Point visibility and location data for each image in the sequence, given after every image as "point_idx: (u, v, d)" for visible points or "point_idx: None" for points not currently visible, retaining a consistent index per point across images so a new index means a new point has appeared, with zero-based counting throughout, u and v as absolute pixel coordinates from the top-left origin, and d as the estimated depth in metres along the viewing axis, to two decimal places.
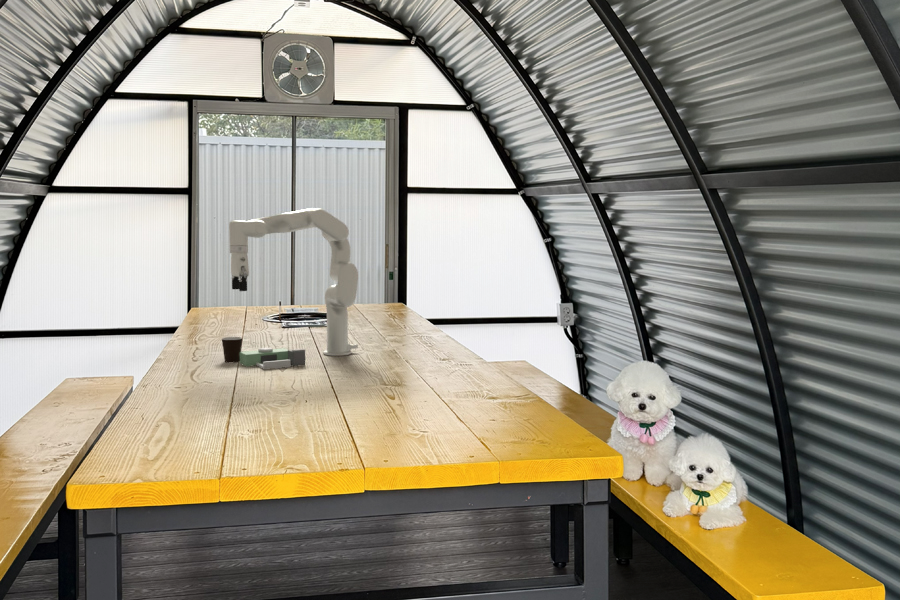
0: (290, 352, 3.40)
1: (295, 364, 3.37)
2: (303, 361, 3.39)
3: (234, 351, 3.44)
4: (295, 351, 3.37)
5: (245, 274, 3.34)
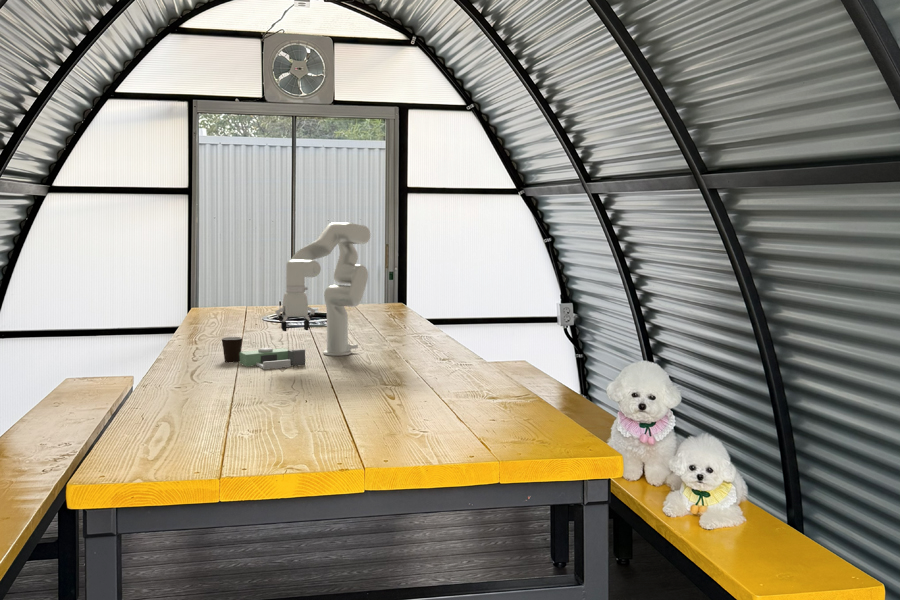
0: (290, 352, 3.40)
1: (295, 364, 3.37)
2: (303, 361, 3.39)
3: (234, 351, 3.44)
4: (295, 351, 3.37)
5: None
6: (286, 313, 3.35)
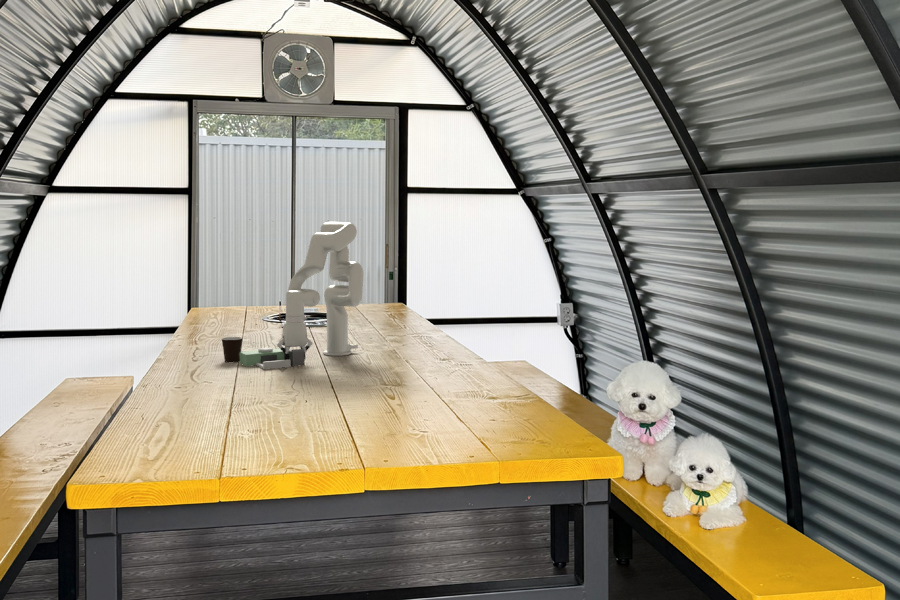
0: (289, 352, 3.39)
1: (294, 364, 3.37)
2: (302, 361, 3.39)
3: (234, 351, 3.44)
4: (294, 351, 3.36)
5: None
6: (285, 343, 3.36)
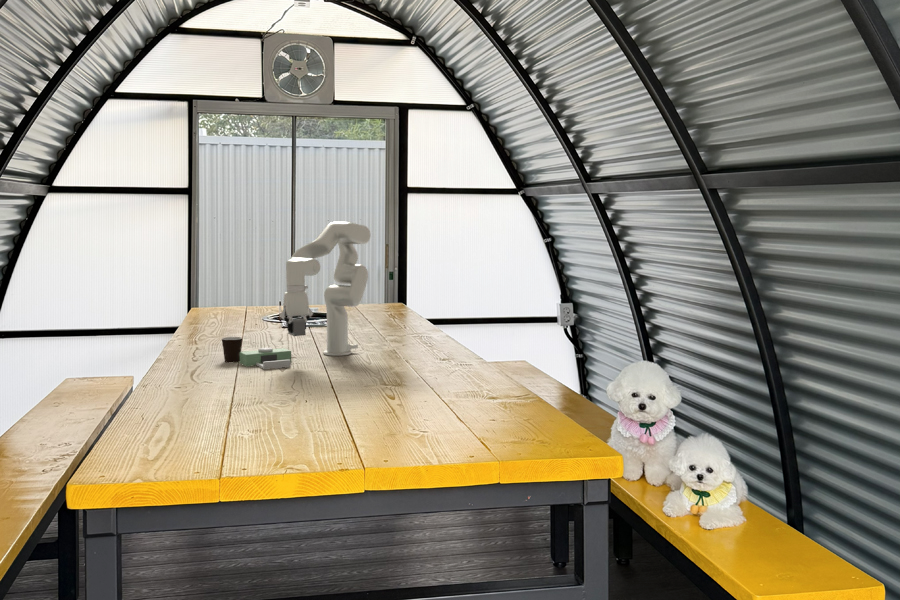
0: None
1: (295, 334, 3.37)
2: (303, 331, 3.38)
3: (234, 351, 3.44)
4: (295, 321, 3.36)
5: None
6: (287, 313, 3.35)
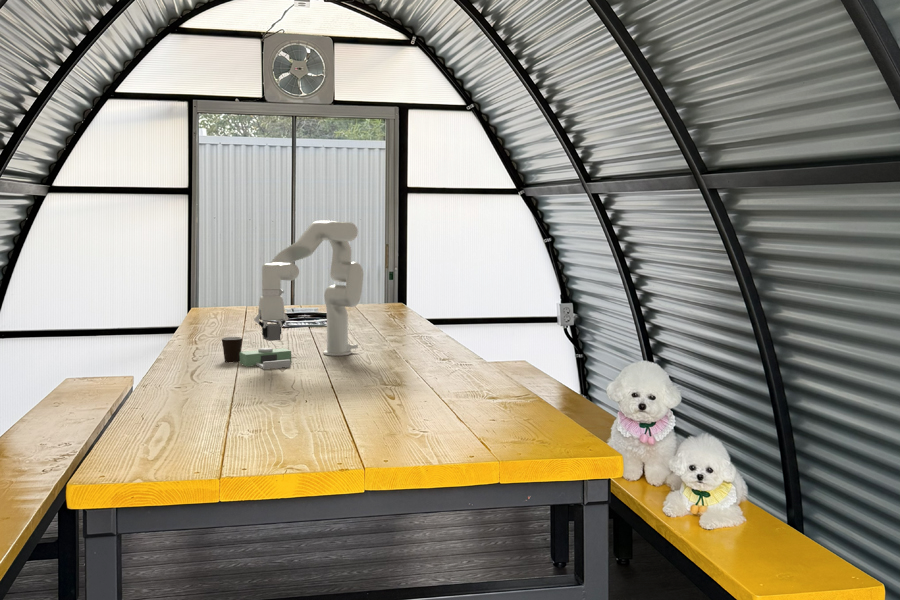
0: None
1: (270, 338, 3.32)
2: (278, 336, 3.34)
3: (234, 351, 3.44)
4: (270, 325, 3.31)
5: None
6: (262, 317, 3.31)
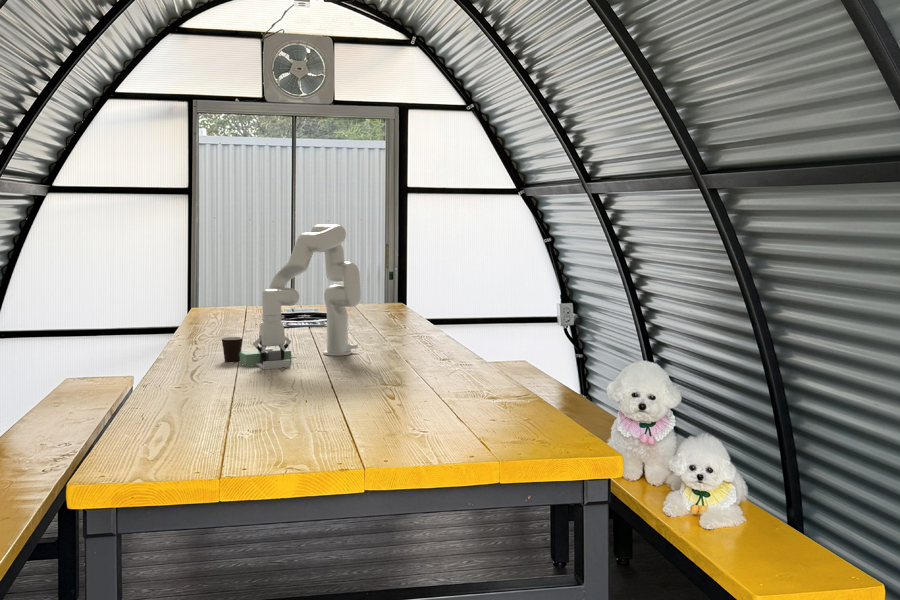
0: (266, 353, 3.36)
1: None
2: None
3: (234, 351, 3.44)
4: (271, 352, 3.33)
5: None
6: (263, 343, 3.32)
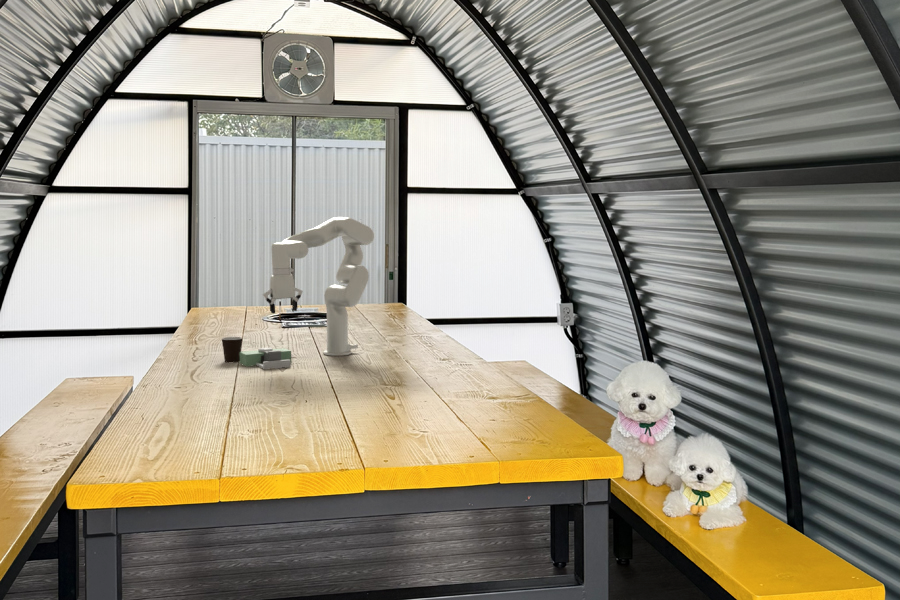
0: (266, 353, 3.36)
1: None
2: None
3: (234, 351, 3.44)
4: (271, 352, 3.33)
5: None
6: (274, 295, 3.38)
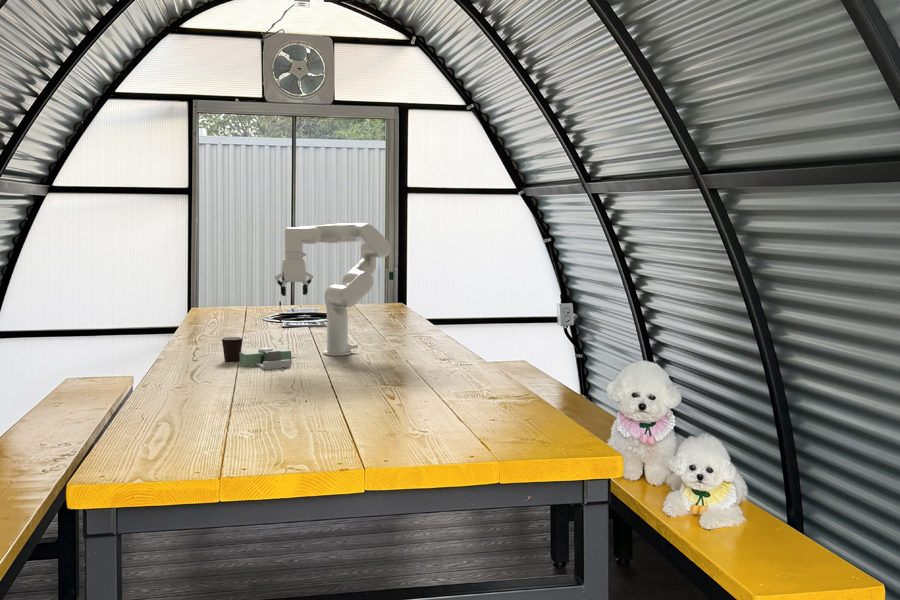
0: (266, 353, 3.36)
1: None
2: None
3: (234, 351, 3.44)
4: (271, 352, 3.33)
5: None
6: (285, 278, 3.46)
